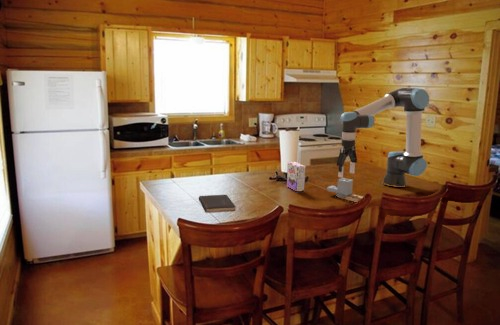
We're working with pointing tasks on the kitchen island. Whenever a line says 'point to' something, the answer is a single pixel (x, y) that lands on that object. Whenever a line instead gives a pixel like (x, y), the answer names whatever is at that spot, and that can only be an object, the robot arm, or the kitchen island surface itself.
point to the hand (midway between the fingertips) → (346, 175)
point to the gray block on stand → (343, 194)
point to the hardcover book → (216, 203)
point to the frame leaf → (354, 198)
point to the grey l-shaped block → (342, 187)
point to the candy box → (296, 176)
